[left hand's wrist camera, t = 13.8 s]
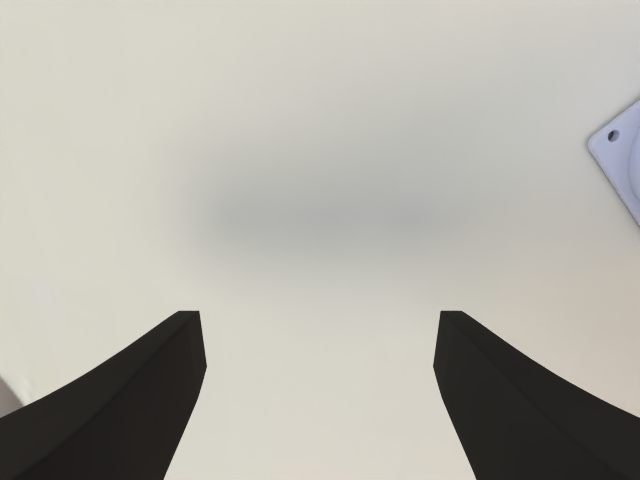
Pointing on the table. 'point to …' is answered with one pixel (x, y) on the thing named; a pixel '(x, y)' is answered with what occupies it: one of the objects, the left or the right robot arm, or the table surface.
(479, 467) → the left robot arm
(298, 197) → the table surface
